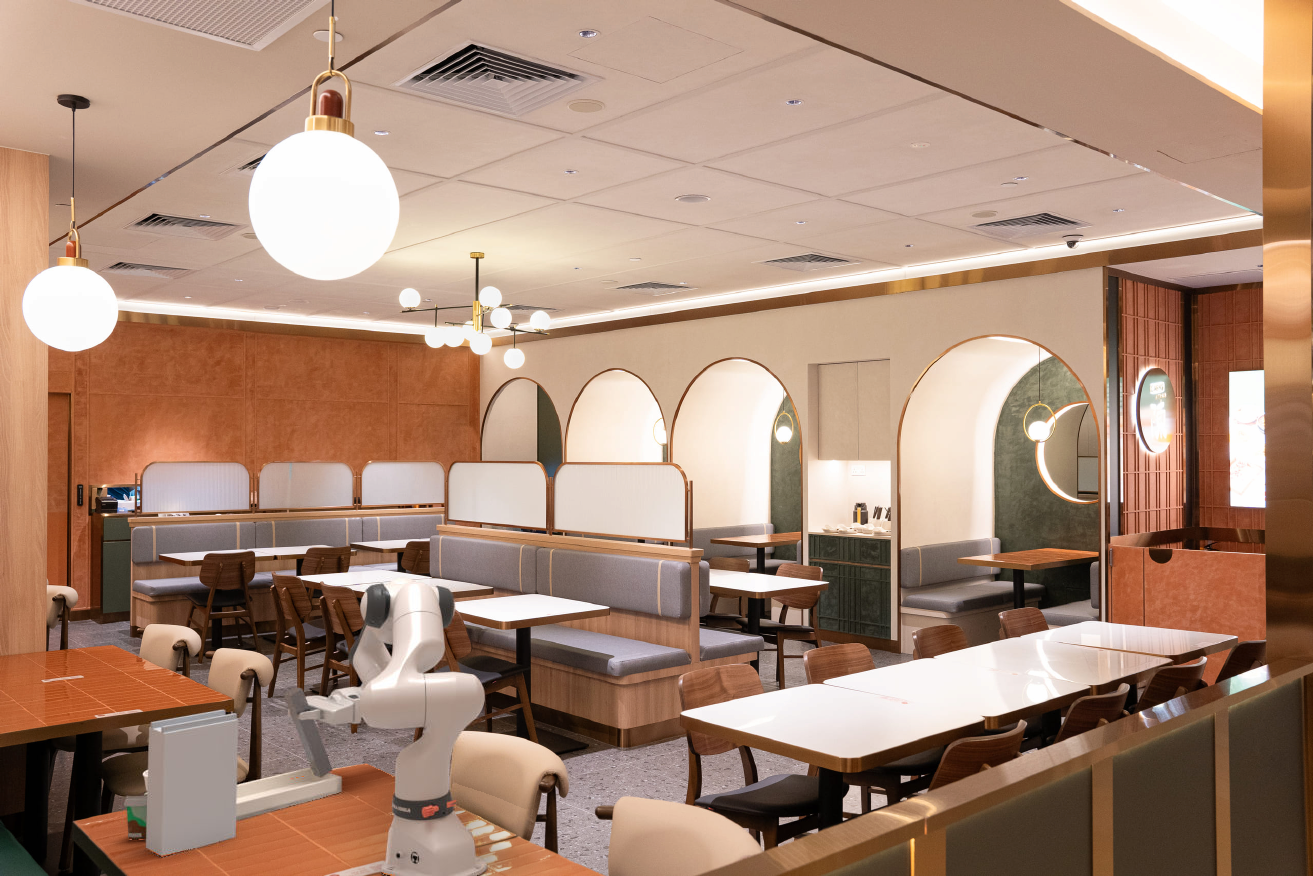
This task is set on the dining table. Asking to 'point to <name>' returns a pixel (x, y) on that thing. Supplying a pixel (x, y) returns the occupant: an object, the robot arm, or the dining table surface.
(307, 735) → the dark gray bar
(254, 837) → the dining table surface
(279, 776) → the tray
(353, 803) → the dining table surface
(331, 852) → the dining table surface
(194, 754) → the channel block
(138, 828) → the food container
